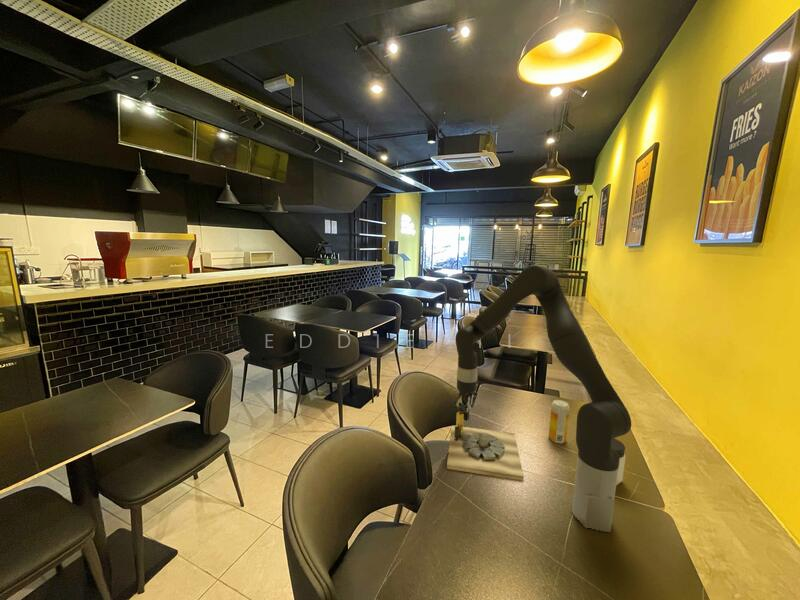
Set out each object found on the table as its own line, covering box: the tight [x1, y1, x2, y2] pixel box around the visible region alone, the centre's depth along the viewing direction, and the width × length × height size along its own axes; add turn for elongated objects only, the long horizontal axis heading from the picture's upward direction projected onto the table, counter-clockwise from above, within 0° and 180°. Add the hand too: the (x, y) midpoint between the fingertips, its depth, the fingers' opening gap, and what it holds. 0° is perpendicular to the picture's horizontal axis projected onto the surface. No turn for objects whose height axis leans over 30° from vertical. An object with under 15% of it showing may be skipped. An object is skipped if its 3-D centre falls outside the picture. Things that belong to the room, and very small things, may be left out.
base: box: [446, 425, 525, 482], centre depth 113 cm, size 24×24×6 cm
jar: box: [611, 438, 627, 486], centre depth 101 cm, size 9×8×12 cm
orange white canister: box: [548, 399, 571, 445], centre depth 120 cm, size 6×6×15 cm
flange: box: [455, 411, 505, 460], centre depth 114 cm, size 18×14×9 cm
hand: (465, 419), depth 123 cm, fingers closed
